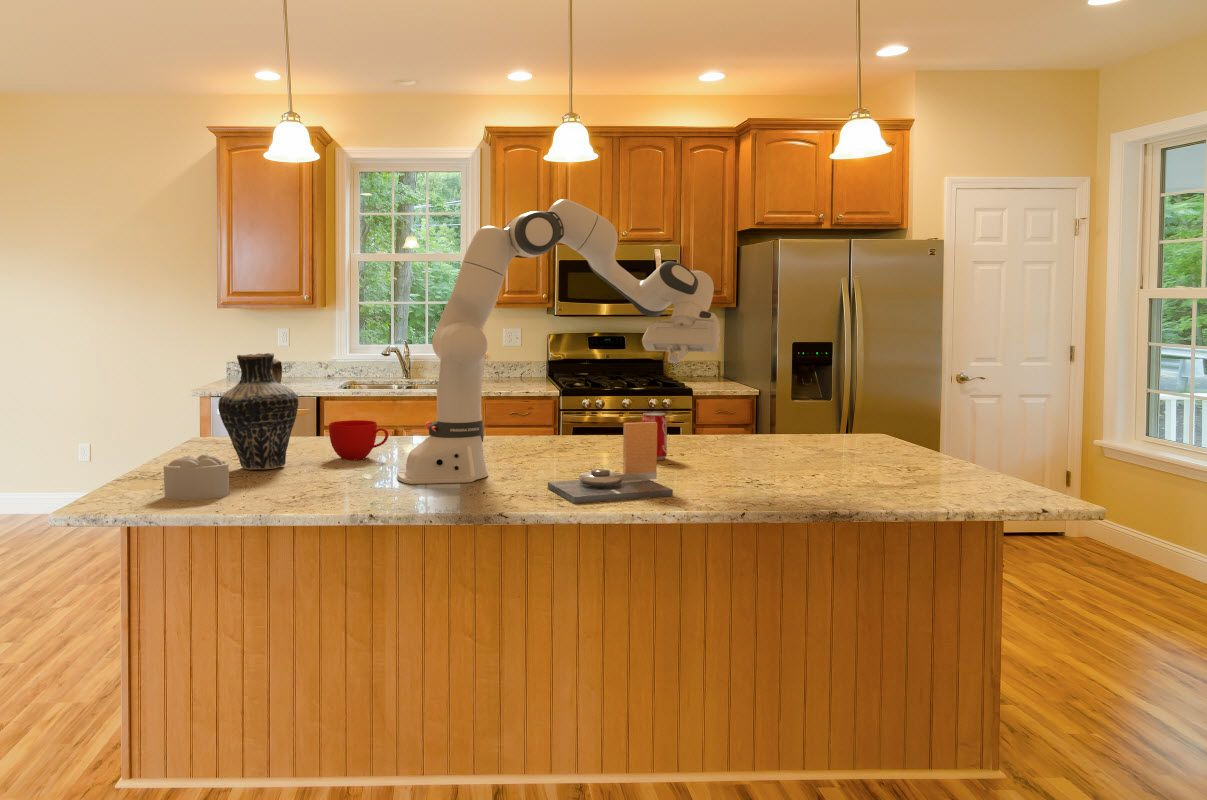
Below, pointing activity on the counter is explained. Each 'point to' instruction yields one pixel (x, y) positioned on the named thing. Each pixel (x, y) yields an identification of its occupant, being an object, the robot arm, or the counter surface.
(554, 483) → the base plate
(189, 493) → the lumpy-topped squat cylinder
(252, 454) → the jug
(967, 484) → the counter surface
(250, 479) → the counter surface
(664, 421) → the soda can
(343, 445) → the ceramic cup
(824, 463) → the counter surface
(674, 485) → the counter surface
